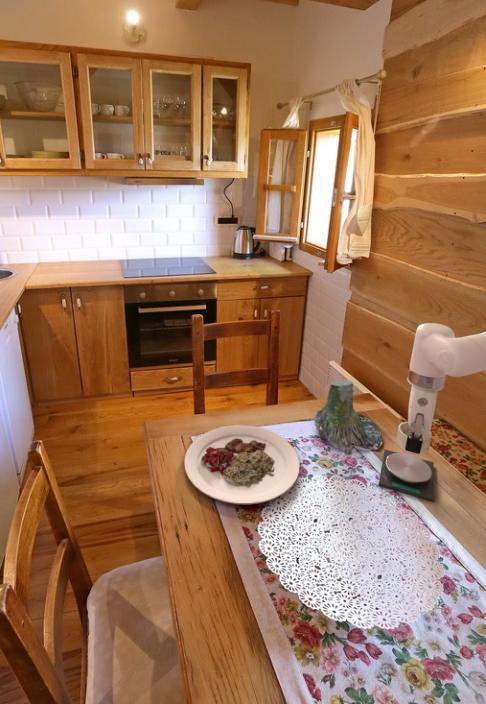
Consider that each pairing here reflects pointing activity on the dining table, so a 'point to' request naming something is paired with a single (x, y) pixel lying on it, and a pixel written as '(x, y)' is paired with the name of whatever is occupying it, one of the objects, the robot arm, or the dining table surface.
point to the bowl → (404, 432)
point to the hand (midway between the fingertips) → (413, 441)
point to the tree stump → (346, 421)
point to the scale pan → (408, 468)
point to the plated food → (241, 464)
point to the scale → (412, 489)
